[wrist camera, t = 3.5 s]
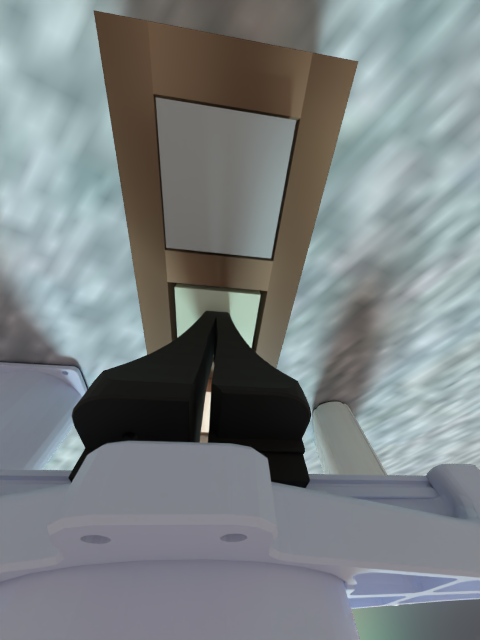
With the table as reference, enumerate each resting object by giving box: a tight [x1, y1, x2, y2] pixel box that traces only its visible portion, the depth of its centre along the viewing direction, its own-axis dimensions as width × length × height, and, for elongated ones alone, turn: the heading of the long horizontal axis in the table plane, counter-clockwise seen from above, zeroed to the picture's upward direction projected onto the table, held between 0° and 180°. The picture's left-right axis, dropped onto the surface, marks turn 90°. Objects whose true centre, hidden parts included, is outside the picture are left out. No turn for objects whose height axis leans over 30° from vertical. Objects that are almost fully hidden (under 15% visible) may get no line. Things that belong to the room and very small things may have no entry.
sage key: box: [175, 283, 261, 348], centre depth 12 cm, size 4×4×2 cm
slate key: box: [156, 98, 296, 258], centre depth 8 cm, size 4×4×2 cm
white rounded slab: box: [313, 402, 398, 606], centre depth 19 cm, size 10×4×12 cm, turn 14°
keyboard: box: [94, 11, 358, 436], centre depth 15 cm, size 8×28×4 cm, turn 174°
